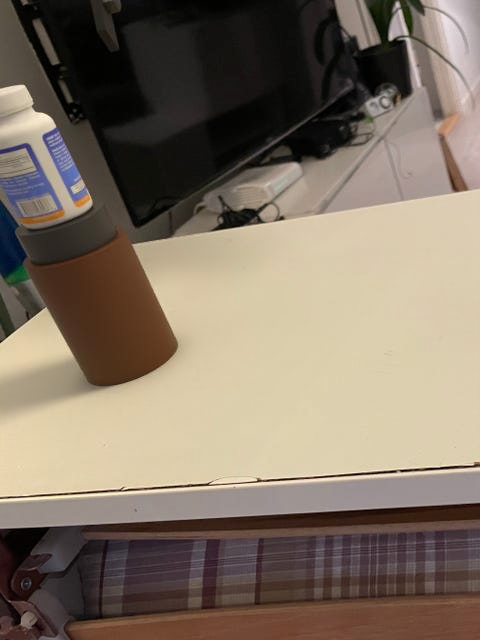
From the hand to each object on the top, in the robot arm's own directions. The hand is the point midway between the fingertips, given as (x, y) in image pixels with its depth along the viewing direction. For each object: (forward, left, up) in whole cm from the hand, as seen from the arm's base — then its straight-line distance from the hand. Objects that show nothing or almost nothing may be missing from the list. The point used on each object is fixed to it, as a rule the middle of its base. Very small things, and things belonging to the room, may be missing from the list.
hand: (29, 60), depth 67 cm
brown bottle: (+7, -11, -24) cm, 27 cm away
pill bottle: (+7, -11, -10) cm, 17 cm away
